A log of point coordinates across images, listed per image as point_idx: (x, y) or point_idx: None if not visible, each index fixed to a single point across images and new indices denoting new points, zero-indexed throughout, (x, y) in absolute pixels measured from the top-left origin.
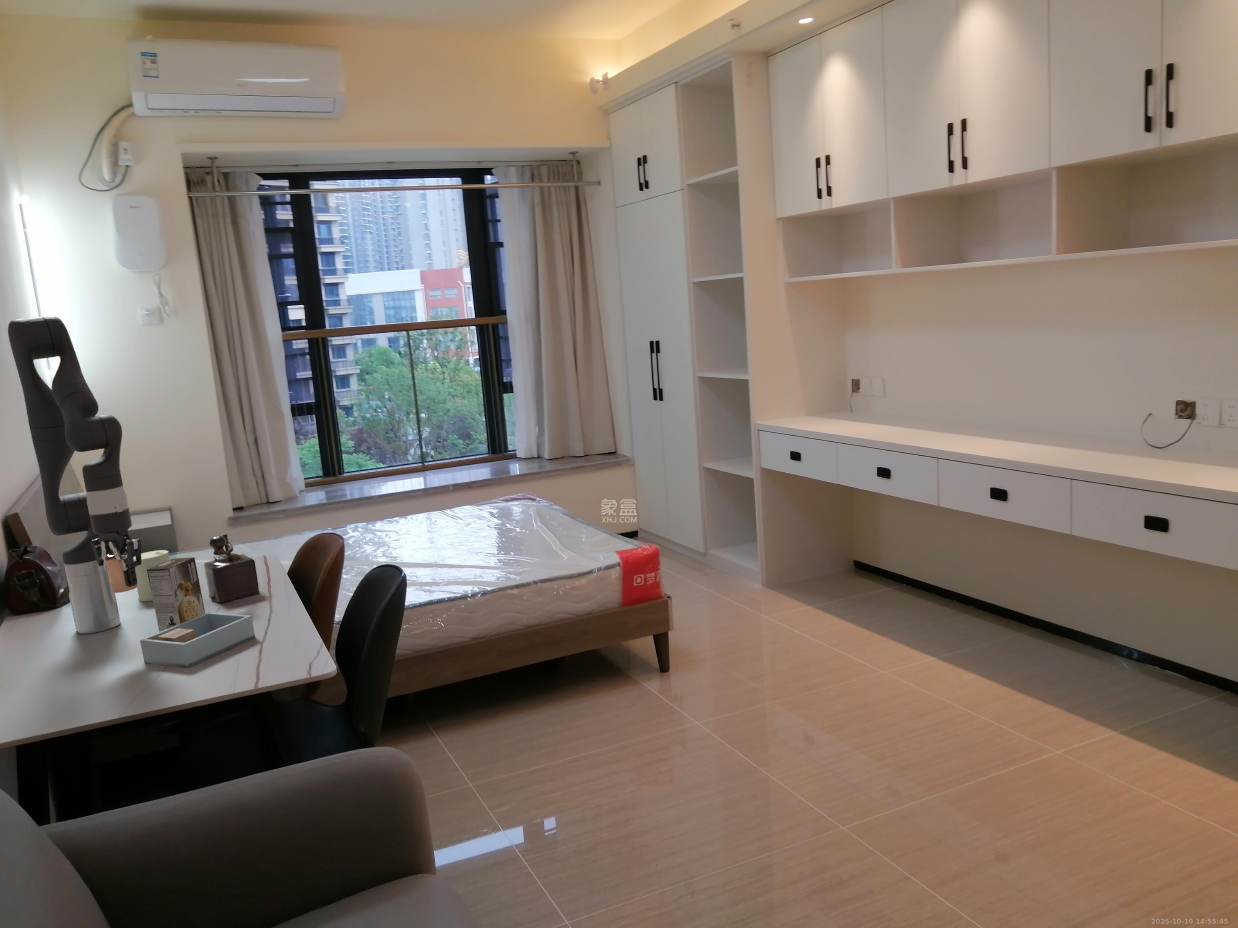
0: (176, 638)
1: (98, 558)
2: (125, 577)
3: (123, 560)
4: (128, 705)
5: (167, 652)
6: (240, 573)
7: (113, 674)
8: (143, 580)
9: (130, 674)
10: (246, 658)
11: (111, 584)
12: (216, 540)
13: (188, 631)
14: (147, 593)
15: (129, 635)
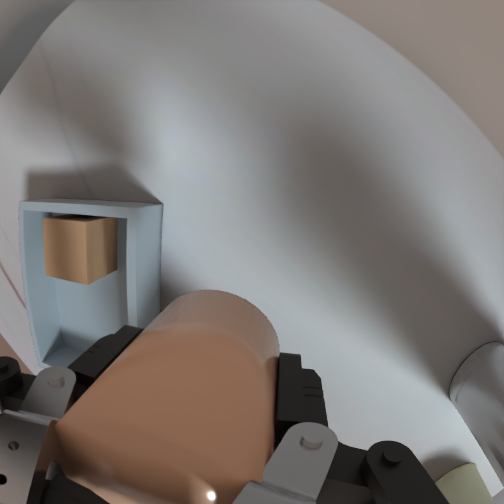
0: (44, 223)
1: (402, 495)
2: (108, 349)
3: (20, 411)
4: (45, 56)
5: (71, 201)
6: None
7: (178, 128)
8: (469, 490)
9: (135, 139)
10: (6, 252)
11: (214, 311)
12: None
13: (48, 264)
14: (460, 476)
15: (381, 357)
